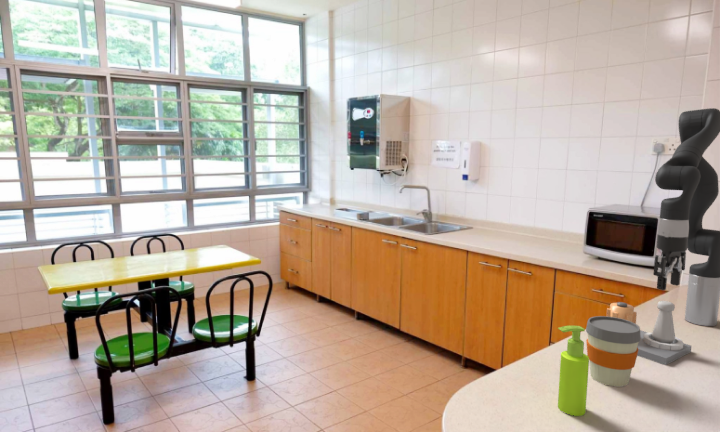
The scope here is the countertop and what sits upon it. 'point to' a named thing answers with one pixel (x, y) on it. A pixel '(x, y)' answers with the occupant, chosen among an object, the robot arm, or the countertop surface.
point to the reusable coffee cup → (612, 349)
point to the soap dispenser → (573, 374)
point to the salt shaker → (664, 323)
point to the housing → (650, 338)
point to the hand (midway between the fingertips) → (668, 287)
